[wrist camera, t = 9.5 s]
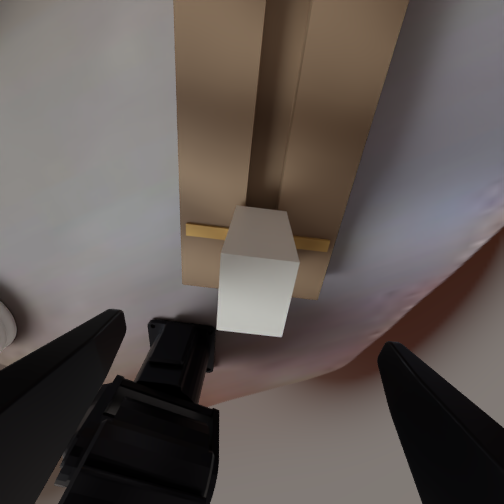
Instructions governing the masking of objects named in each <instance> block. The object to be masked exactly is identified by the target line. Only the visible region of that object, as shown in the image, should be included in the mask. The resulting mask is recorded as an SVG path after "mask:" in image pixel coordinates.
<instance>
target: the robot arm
mask: <svg viewBox="0 0 504 504" xmlns="http://www.w3.org/2000/svg"><path fill="white" fill-rule="evenodd" d="M210 331H211V332H210ZM125 333H126V323H125V317H124V313H123V311H122V310H117V309H108V310H106V311H104V312H103V313H101V314H99V315H97V316H96V317H94V318H92V319H90V320H88V321H87V322H85V323H83V324H81V325H80V326H78V327H76V328H74V329H73V330H71V331H69V332H67V333H66V334H64V335H62V336H60V337H58V338H57V339H55V340H53V341H51V342H50V343H48V344H46V345H44V346H43V347H41V348H39V349H37V350H35V351H34V352H32V353H30V354H28V355H27V356H25V357H23V358H21V359H20V360H18V361H16V362H14V363H13V364H11V365H9V366H7V367H5V368H4V369H2V370H0V504H35V502H36V500H37V498H38V497H39V495H40V493H41V491H42V490H43V488H44V486H45V484H46V483H47V481H48V479H49V477H50V475H51V473H52V472H53V470H54V468H55V467H56V465H57V463H58V461H59V460H60V458H61V456H62V455H63V461H62V463H61V465H60V468H62V469H61V471H60V473H59V475H58V477H57V479H56V481H55V483H54V485H56V486H60V487H67V488H66V490H65V492H64V494H63V496H62V498H61V500H60V501H59V503H58V504H210V501H211V498H212V495H213V491H214V488H215V484H216V479H217V474H218V464H219V410H217V409H214V408H213V409H210V408H208V407H205V406H202V405H199V404H198V403H199V398H200V394H201V390H202V385H203V381H204V377H205V373H206V372H207V373H210V372H212V371H213V368H214V353H215V335H216V329H215V328H214V327H213V326H206V325H197V324H189V323H180V322H171V321H163V320H150V321H149V323H148V333H149V340H150V350H149V352H148V354H147V356H146V358H145V360H144V362H143V364H142V366H141V368H140V370H139V372H138V374H137V376H136V378H135V380H134V382H133V381H130V380H128V379H125V378H124V377H123V376H120V375H117V376H116V378H115V379H114V381H113V383H109V384H103V382H104V380H105V378H106V376H107V374H108V372H109V370H110V368H111V365H112V363H113V361H114V359H115V356H116V354H117V352H118V350H119V347H120V345H121V343H122V341H123V338H124V336H125ZM377 362H378V367H379V371H380V375H381V379H382V383H383V387H384V391H385V395H386V399H387V403H388V406H389V410H390V413H391V416H392V419H393V422H394V425H395V427H396V430H397V433H398V436H399V439H400V442H401V445H402V447H403V450H404V453H405V456H406V459H407V462H408V464H409V467H410V470H411V473H412V475H413V478H414V481H415V484H416V487H417V490H418V493H419V495H420V498H421V501H422V504H504V428H503V427H502V426H501V425H499V424H498V423H497V422H496V421H495V420H493V419H492V418H491V417H490V416H489V415H487V414H486V413H485V412H484V411H482V410H481V409H480V408H479V407H478V406H476V405H475V404H474V403H473V402H471V401H470V400H469V399H468V398H467V397H466V396H464V395H463V394H462V393H461V392H459V391H458V390H457V389H456V388H455V387H453V386H452V385H451V384H450V383H448V382H447V381H446V380H445V379H444V378H442V377H441V376H440V375H439V374H438V373H436V372H435V371H434V370H433V369H432V368H430V367H429V366H428V365H427V364H426V363H424V362H423V361H422V360H421V359H420V358H418V357H417V356H416V355H415V354H413V353H412V352H411V351H410V350H409V349H407V348H406V347H405V346H404V345H402V344H401V343H399V342H391V341H388V342H386V343H385V345H384V346H383V348H382V350H381V352H380V354H379V356H378V360H377ZM102 384H103V385H102ZM101 386H102V387H101ZM99 389H100V390H99Z"/></svg>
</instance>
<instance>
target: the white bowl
mask: <svg viewBox="0 0 504 504" xmlns="http://www.w3.org/2000/svg"><path fill="white" fill-rule="evenodd" d="M16 333H17V326H16V323H15V320H14V318H13V316H12V314H11V312H10V311H9V310H8V308H7V307H6V306H5V305H4V304H3V303H2V302H1V301H0V353H1V352H2V350H3V349H4V348H5V347H7V346H9V345H10V344H11V343H12V342H13V340H14V339H15V337H16Z"/></svg>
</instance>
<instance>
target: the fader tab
mask: <svg viewBox="0 0 504 504" xmlns="http://www.w3.org/2000/svg"><path fill="white" fill-rule="evenodd" d="M299 264H300V262H299V258H298V254H297V250H296V246H295V242H294V238H293V234H292V230H291V227H290V223H289V219H288V215H287V211H279V210H271V209H263V208H255V207H246V206H238V205H237V206H236V209H235V212H234V215H233V218H232V221H231V224H230V227H229V230H228V233H227V236H226V239H225V242H224V245H223V248H222V251H221V258H220V276H219V293H218V311H217V329H216V330H222V331H231V332H239V333H248V334H257V335H266V336H274V337H282V335H283V330H284V326H285V322H286V318H287V314H288V309H289V305H290V301H291V297H292V293H293V289H294V284H295V280H296V276H297V272H298V268H299Z"/></svg>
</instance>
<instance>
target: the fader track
mask: <svg viewBox="0 0 504 504" xmlns="http://www.w3.org/2000/svg"><path fill="white" fill-rule="evenodd" d="M173 3H174V34H175V66H176V98H177V130H178V161H179V193H180V225H181V256H182V284H183V285H192V286H200V287H209V288H217V289H219V276H220V258H221V251H222V248H223V245H224V242H225V239H226V236H227V233H228V230H229V227H230V224H231V221H232V218H233V215H234V212H235V209H236V206H237V205H238V206H246V207H255V208H263V209H271V210H279V211H287V215H288V219H289V223H290V227H291V230H292V234H293V238H294V242H295V246H296V250H297V254H298V258H299V262H300V264H299V268H298V272H297V276H296V280H295V284H294V289H293V293H292V297H294V298H303V299H312V300H318V297H319V293H320V290H321V287H322V284H323V280H324V277H325V274H326V271H327V267H328V264H329V261H330V258H331V254H332V251H333V248H334V244H335V241H336V238H337V235H338V231H339V228H340V225H341V222H342V218H343V215H344V212H345V209H346V205H347V202H348V199H349V196H350V192H351V189H352V186H353V182H354V179H355V176H356V173H357V169H358V166H359V163H360V160H361V156H362V153H363V150H364V147H365V143H366V140H367V137H368V134H369V130H370V127H371V124H372V120H373V117H374V114H375V111H376V107H377V104H378V101H379V98H380V94H381V91H382V88H383V85H384V81H385V78H386V75H387V72H388V68H389V65H390V62H391V59H392V55H393V52H394V49H395V45H396V42H397V39H398V36H399V32H400V29H401V26H402V23H403V19H404V16H405V13H406V10H407V6H408V3H409V0H173Z"/></svg>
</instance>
